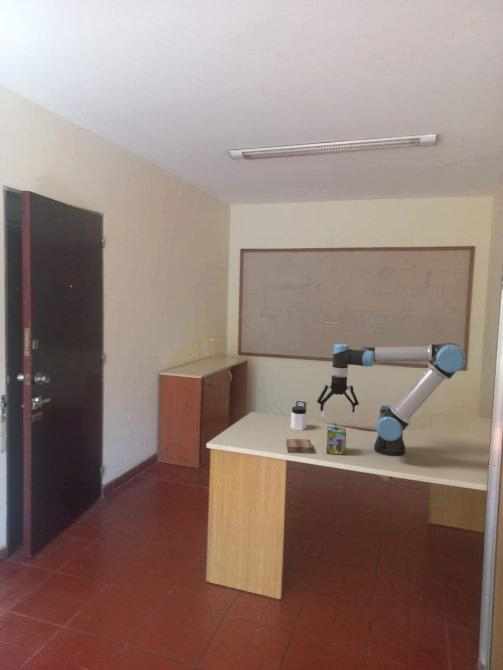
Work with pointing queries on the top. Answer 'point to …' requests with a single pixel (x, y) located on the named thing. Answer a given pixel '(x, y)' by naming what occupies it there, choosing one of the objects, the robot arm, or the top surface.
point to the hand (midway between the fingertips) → (336, 418)
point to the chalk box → (336, 440)
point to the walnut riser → (299, 446)
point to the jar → (298, 418)
